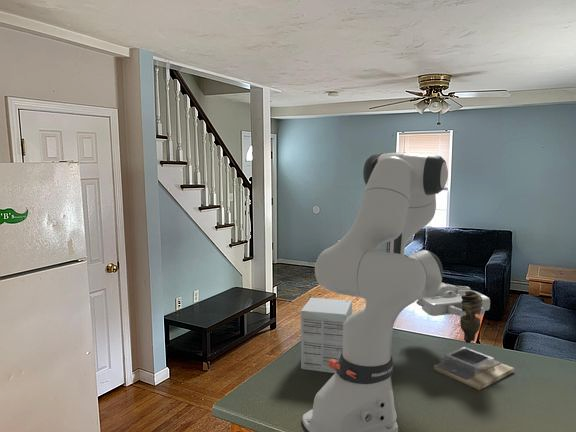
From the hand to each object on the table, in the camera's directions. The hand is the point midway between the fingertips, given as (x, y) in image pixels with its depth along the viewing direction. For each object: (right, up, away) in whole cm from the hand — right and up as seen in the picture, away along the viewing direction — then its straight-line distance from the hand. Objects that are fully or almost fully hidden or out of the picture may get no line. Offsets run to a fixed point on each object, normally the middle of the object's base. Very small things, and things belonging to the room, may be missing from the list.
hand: (473, 312), depth 121 cm
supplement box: (-40, -17, +8) cm, 44 cm away
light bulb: (0, -9, +2) cm, 9 cm away
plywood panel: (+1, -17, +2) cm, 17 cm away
